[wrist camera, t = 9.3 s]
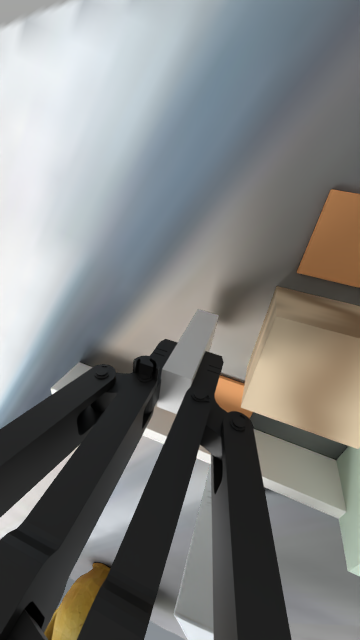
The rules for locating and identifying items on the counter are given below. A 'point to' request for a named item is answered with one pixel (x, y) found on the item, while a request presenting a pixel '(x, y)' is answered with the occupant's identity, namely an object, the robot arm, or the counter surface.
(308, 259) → the trap pits
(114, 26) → the counter surface
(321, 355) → the oak block
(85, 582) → the pitcher
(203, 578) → the skincare box
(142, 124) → the counter surface
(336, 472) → the track
